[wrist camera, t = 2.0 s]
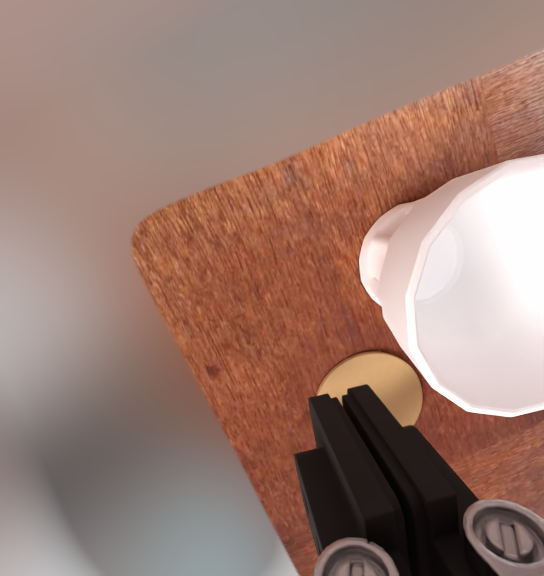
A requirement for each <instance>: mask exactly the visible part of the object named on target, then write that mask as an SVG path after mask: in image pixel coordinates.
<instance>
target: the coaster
mask: <svg viewBox="0 0 544 576" xmlns="http://www.w3.org/2000/svg"><path fill="white" fill-rule="evenodd" d="M365 384H368V385H369V386H370V387H371V389H372V390H373V391H374V392H375V394H376V395H377V396H378V397H379V398H380V400H381V401H382V402H383V403H384V405H385V406H386V407H387V408H388V410H389V411H390V412H391V413H392V415H393V416H394V417H395V418H396V419H397V421H398V422H399V423H400V424H401V426H402V427H404V426H408V425H412V426H413V425H414V424H415V422H416V420H417V418H418V416H419V413H420V410H421V406H422V398H423V396H422V387H421V383H420V380H419V378H418V376H417V374H416V373H415V371H414V370H413V369H412V367H410V366H409V365H408V364H407V363H406V362H405V361H404V360H402V359H401V358H399V357H397V356H395V355H392V354H389V353H385V352H375V351H373V352H364V353H359V354H356V355H354V356H351V357H349V358H347V359H345V360H343V361H342V362H340V363H339V364H337V365H336V366H335V367H334V368H333V369H332V370H331V371H330V372H329V373H328V374H327V375H326V377H325V378H324V379H323V381H322V383H321V384H320V386H319V388H318V391H317V394H316V396H318V395H323V394H327V393H328V394H329V396H330V397H331V398H333V397H337V398H338V399H339V401H340V403H341V404H342V395H346V394H347V389H348V388H352V387H356V386H360V385H365ZM342 406H343V405H342Z"/></svg>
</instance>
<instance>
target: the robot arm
mask: <svg viewBox="0 0 544 576" xmlns="http://www.w3.org/2000/svg"><path fill="white" fill-rule="evenodd" d="M308 400H309V407H310V413H311V419H312V425H313V430H314V436H315V442H316V448H317V449H313V450H309V451H305V452H301V453H297V454H294V457H295V463H296V468H297V473H298V479H299V483H300V488H301V493H302V497H303V501H304V505H305V509H306V513H307V517H308V520H309V524H310V528H311V531H312V535H313V539H314V542H315V546H316V550H317V553H318V557H319V558H318V560H317V563H316V565H315V568H314V576H544V520H543V519H542V518H541V517H539V516H538V515H536V514H535V513H533V512H532V511H530V510H529V509H527V508H525V507H523V506H521V505H518V504H516V503H514V502H509V501H505V500H500V499H485V500H481V501H479V500H478V498H477V497H476V496H475V495H474V494H473V493H472V491H471V490H470V489H469V488H468V487H467V486H466V485H465V483H464V482H463V481H462V480H461V479H460V478H459V476H458V475H457V474H456V473H455V472H454V471H453V470H452V468H451V467H450V466H449V465H448V464H447V463H446V462H445V460H444V459H443V458H442V457H441V456H440V455H439V453H438V452H437V451H436V450H435V449H434V448H433V447H432V445H431V444H430V443H429V442H428V441H427V440H426V439H425V437H424V436H423V435H422V434H421V433H420V432H419V430H418V429H417V428H415V427H414V426H412V425H408V426H404V427H402V426H401V424H400V423H399V422H398V421H397V419H396V418H395V417H394V416H393V415H392V413H391V412H390V411H389V410H388V408H387V407H386V406H385V405H384V403H383V402H382V401H381V400H380V398H379V397H378V396H377V395H376V394H375V392H374V391H373V390H372V389H371V387H370V386H369V385H368V384H365V385H360V386H356V387H352V388H348V389H347V394H346V395H342V404H341V403H340V401H339V399H338V398H337V397H333V398H331V397H330V396H329V394H328V393H327V394H323V395H318V396H314V397H310V398H309V399H308ZM342 405H343V406H342Z"/></svg>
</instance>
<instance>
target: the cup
mask: <svg viewBox="0 0 544 576" xmlns="http://www.w3.org/2000/svg"><path fill="white" fill-rule="evenodd" d="M359 267H360V277H361V282H362V284H363V285H364V287H365V289H366V291H367V292H368V294H369V295H370V297H371V298H372V299H373V300H374V301H375V302H377V303H378V304H379V305H380V306H382V313H383V318H384V320H385V321H386V323H387V325H388V326H389V328H390V330H391V331H392V333H393V335H394V336H395V338H396V340H397V341H398V343H399V345H400V347H401V348H402V349H403V351H404V352H405V353H406V354H407V356H408V357H409V358H410V360H411V361H412V362H413V364H414V365H415V366H416V367H417V369H418V370H419V371H420V373H421V374H422V375H423V377H424V378H425V379H426V380H427V382H428V383H429V384H430V386H431V387H432V388H433V389H435V390H436V391H438V392H439V393H441V394H442V395H444V396H445V397H447V398H448V399H450V400H451V401H453V402H454V403H455V404H457V405H458V406H460V407H461V408H463V409H464V410H466V411H467V412H475V413H483V414H490V415H498V416H506V417H514V416H518V415H522V414H526V413H530V412H535V411H539V410H543V409H544V154H541V155H536V156H530V157H524V158H518V159H513V160H507V161H504V162H501V163H498V164H496V165H493V166H490V167H487V168H484V169H481V170H478V171H475V172H472V173H469V174H466V175H463V176H460V177H457V178H454V179H452V180H450V181H449V182H447V183H446V184H444V185H443V186H441V187H440V188H438V189H437V190H435V191H434V192H432V193H431V194H429V195H428V196H426V197H425V198H422V199H419V200H416V201H414V202H409V203H404V204H399V205H397V206H395V207H394V208H392V209H391V210H389V211H387V212H386V213H385V214H383V215H382V216H381V217H379V218H378V220H377V221H376V222H375V223H374V225H373V226H372V227H371V228H370V230H369V231H368V233H367V234H366V236H365V237H364V241H363V244H362V248H361V252H360V257H359Z"/></svg>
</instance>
